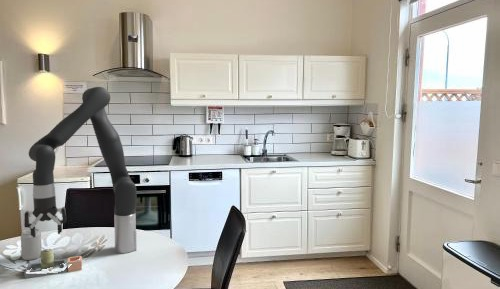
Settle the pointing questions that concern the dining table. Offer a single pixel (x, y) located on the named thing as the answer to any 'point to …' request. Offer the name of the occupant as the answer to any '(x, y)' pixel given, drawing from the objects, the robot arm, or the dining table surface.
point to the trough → (38, 265)
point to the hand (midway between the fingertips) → (46, 235)
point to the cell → (47, 258)
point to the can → (30, 245)
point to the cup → (75, 263)
